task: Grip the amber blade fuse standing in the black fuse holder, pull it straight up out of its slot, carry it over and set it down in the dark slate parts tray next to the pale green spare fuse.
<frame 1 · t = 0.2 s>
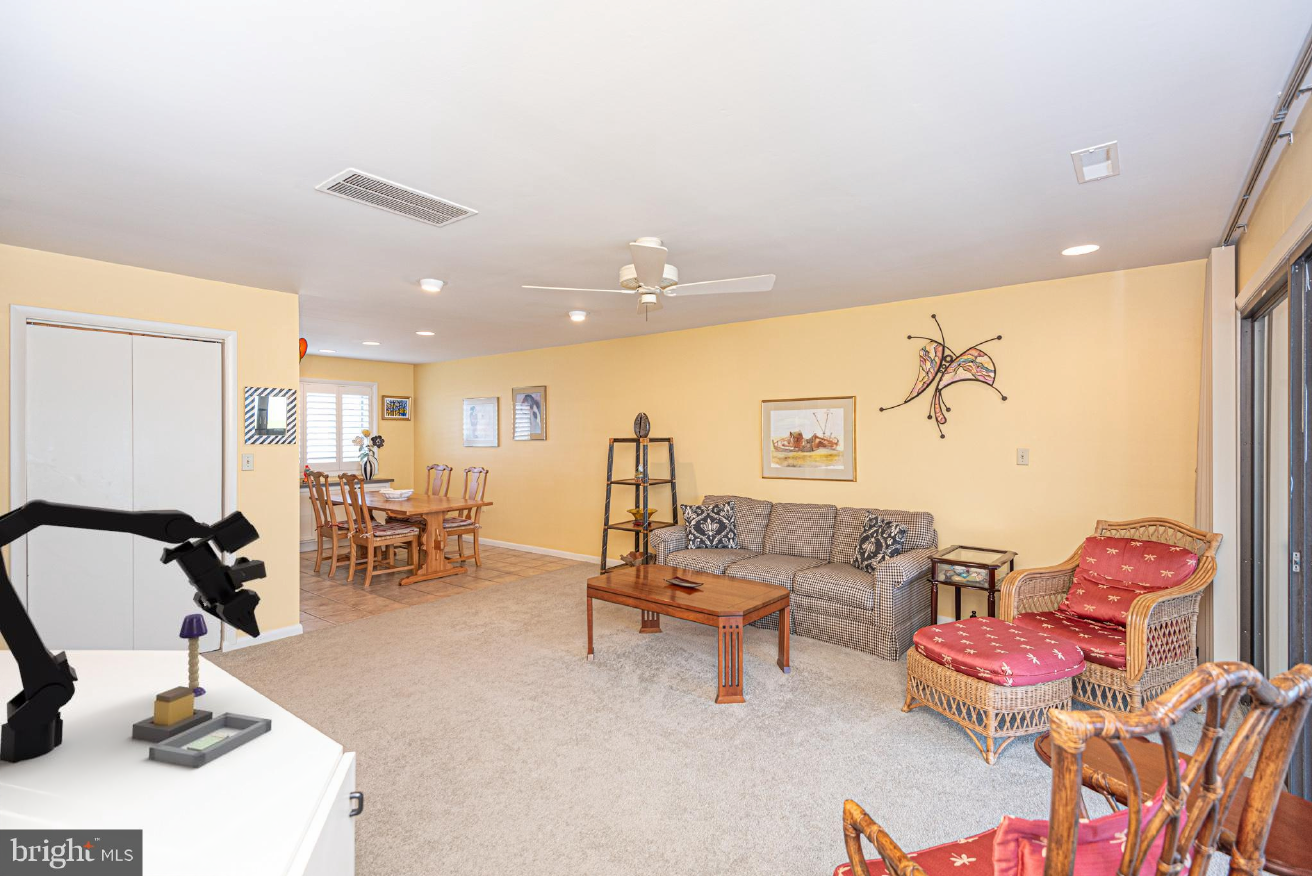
hand: (249, 632, 125), 14 cm above the table, tool tilted 30°, fingers open, 9 cm apart
parts tray: (213, 747, 107), on the table
spare fuse: (206, 754, 104), resting on parts tray
fuse holder: (173, 735, 111), on the table
blown fuse: (173, 731, 111), point 1 cm above the table, touching fuse holder
toy lamp: (191, 698, 127), on the table
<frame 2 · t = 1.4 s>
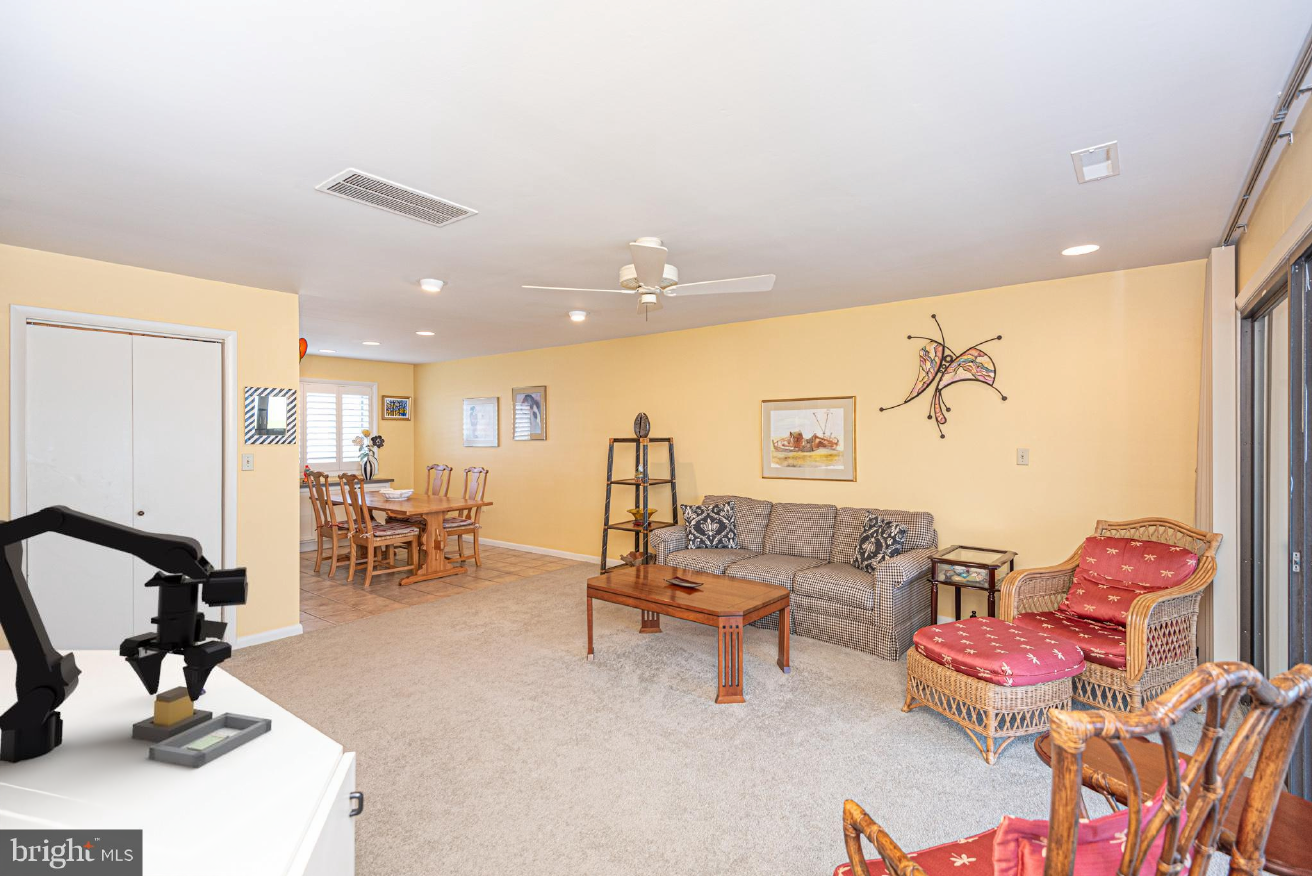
hand: (173, 697, 111), 7 cm above the table, tool pointing down, fingers open, 9 cm apart
nothing on the table moved.
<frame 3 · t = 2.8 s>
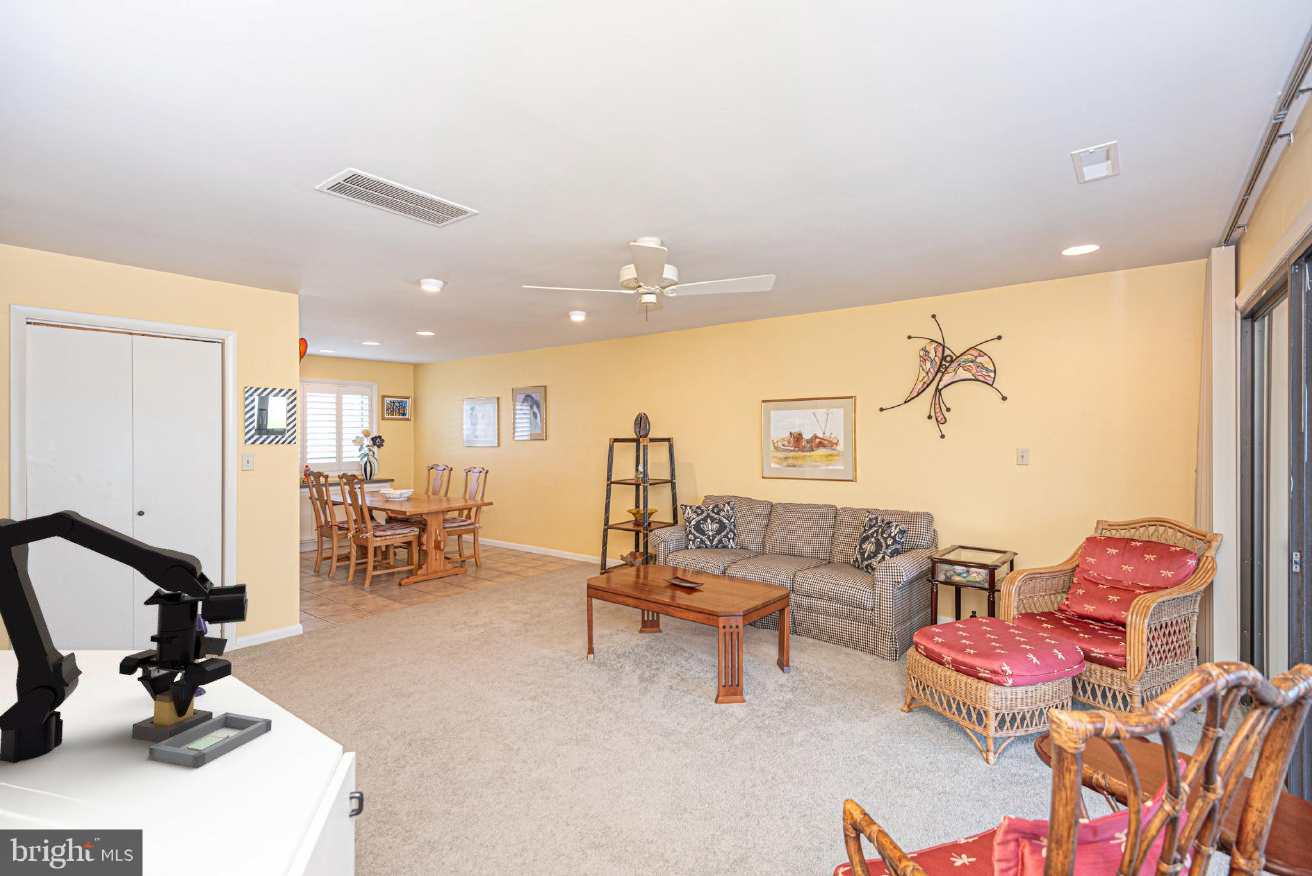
hand: (173, 715, 111), 4 cm above the table, tool pointing down, fingers closed on blown fuse, 3 cm apart
blown fuse: (173, 731, 111), point 1 cm above the table, touching fuse holder, gripper
everything else where it was.
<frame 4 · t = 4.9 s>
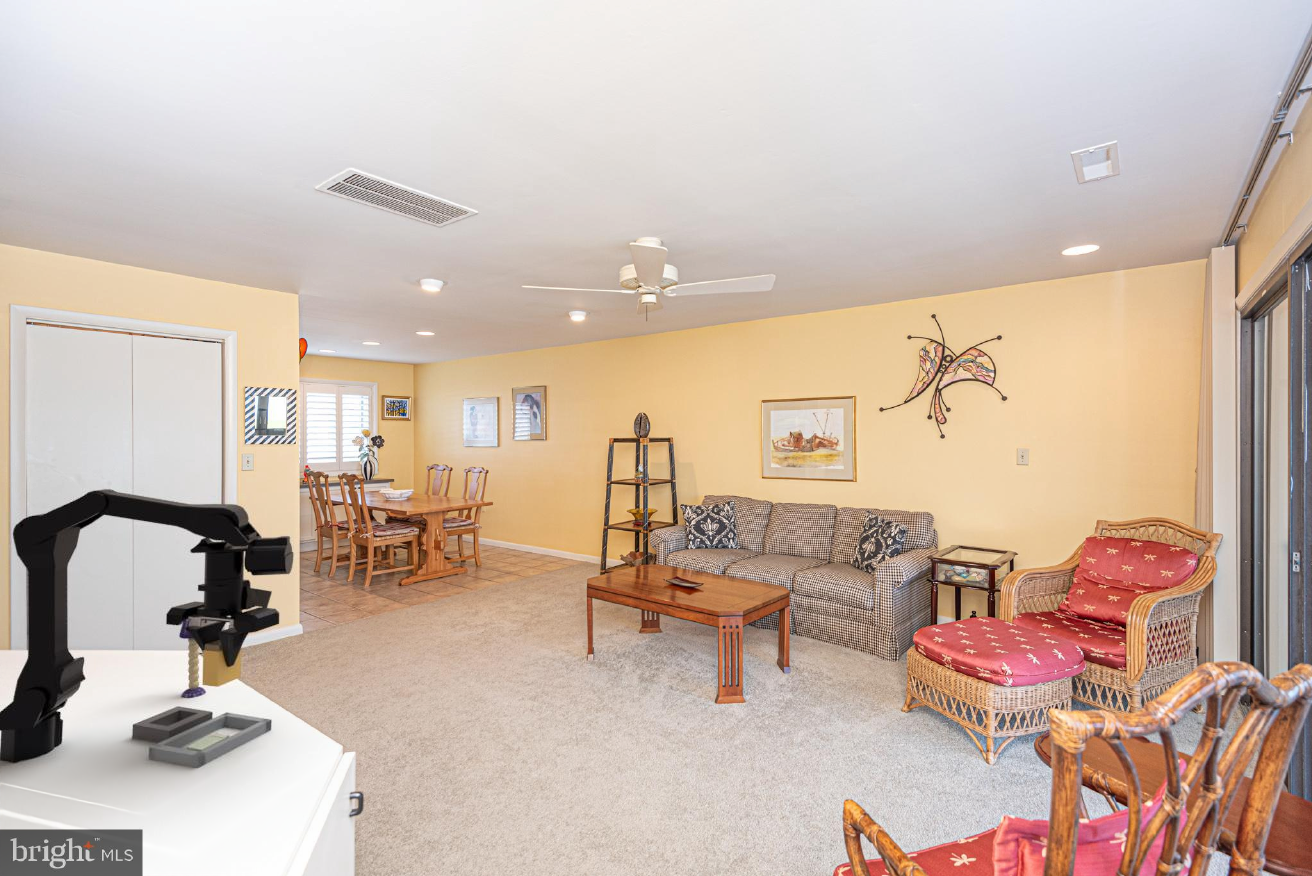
hand: (222, 665, 111), 13 cm above the table, tool pointing down, fingers closed on blown fuse, 3 cm apart
blown fuse: (221, 681, 111), point 10 cm above the table, touching gripper
everything else where it was.
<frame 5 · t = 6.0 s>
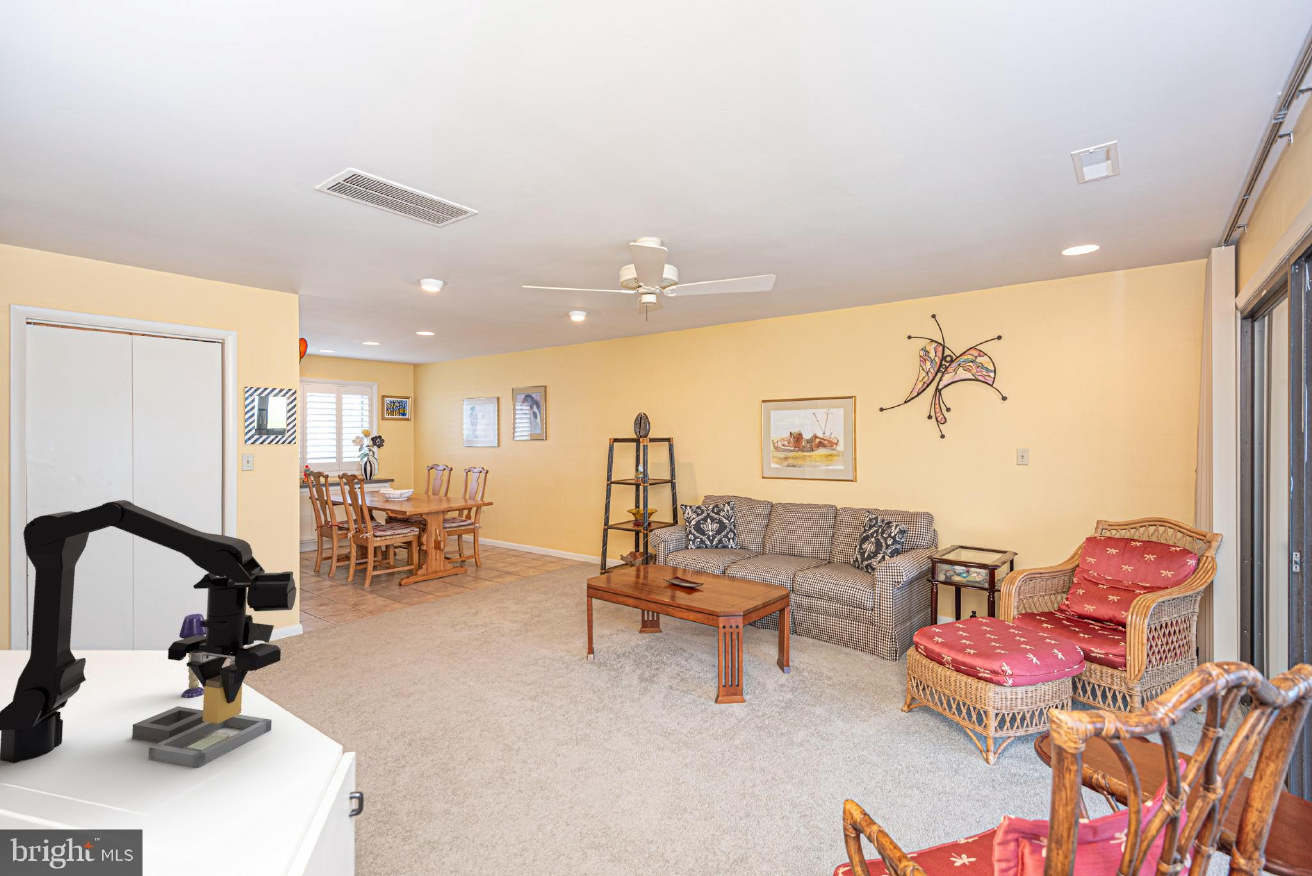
hand: (222, 701, 110), 7 cm above the table, tool pointing down, fingers closed on blown fuse, 3 cm apart
blown fuse: (222, 717, 110), point 4 cm above the table, touching gripper
everything else where it was.
when the fingers open (5 cm above the table, at t = 7.0 s): blown fuse drops 2 cm, resting on parts tray.
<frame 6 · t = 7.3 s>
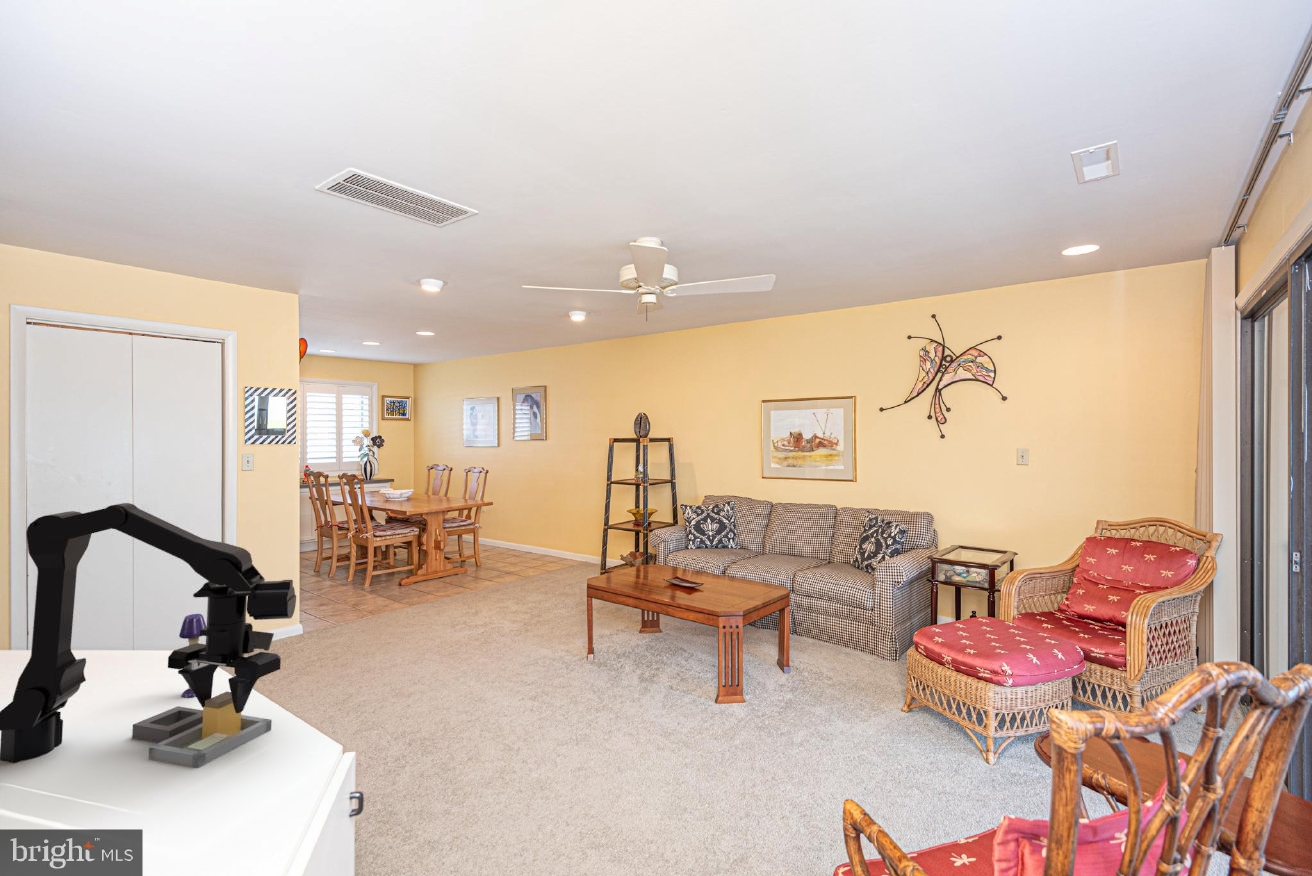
hand: (222, 709, 110), 5 cm above the table, tool pointing down, fingers open, 7 cm apart
blown fuse: (221, 737, 110), resting on parts tray
everything else where it was.
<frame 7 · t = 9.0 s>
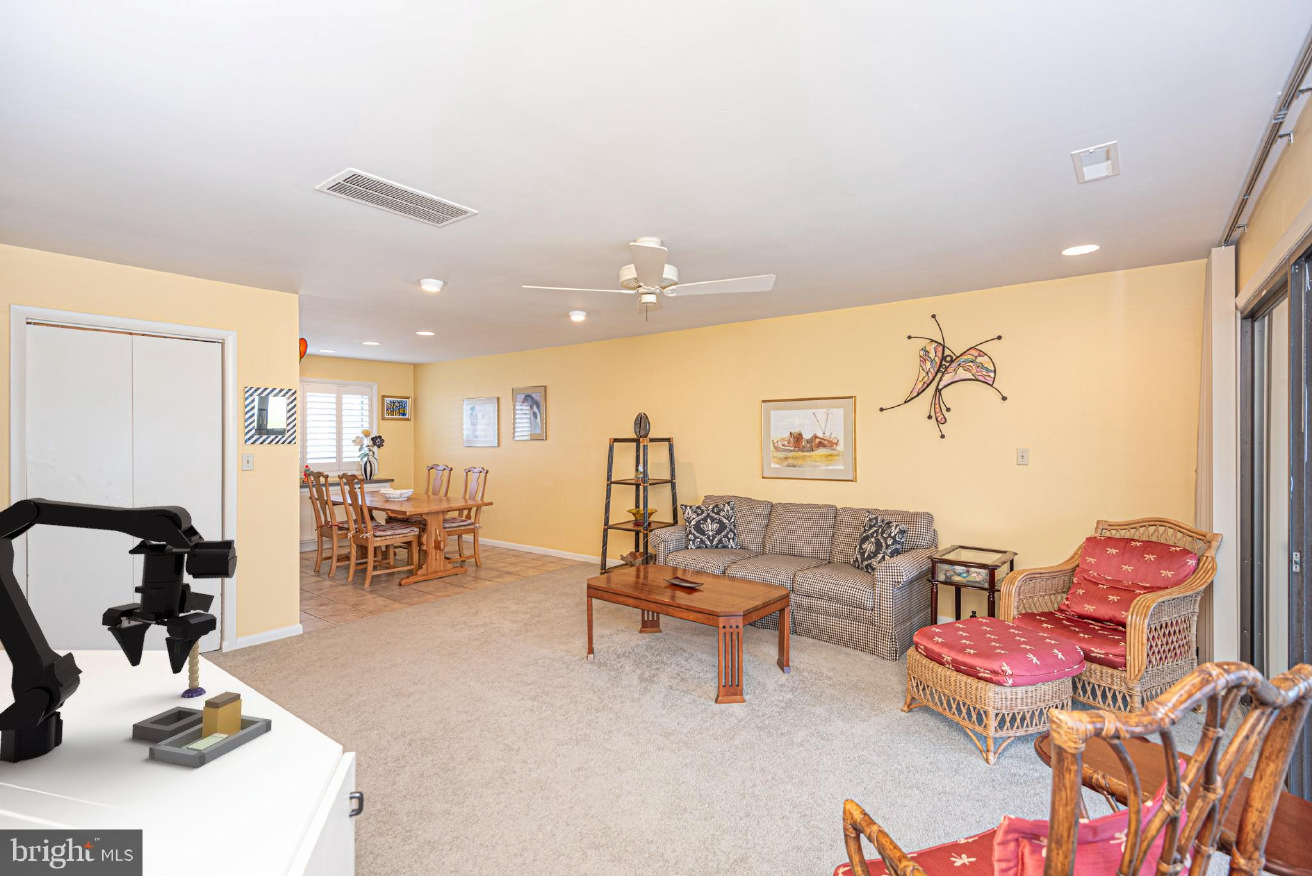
hand: (156, 669, 109), 13 cm above the table, tool pointing down, fingers open, 9 cm apart
nothing on the table moved.
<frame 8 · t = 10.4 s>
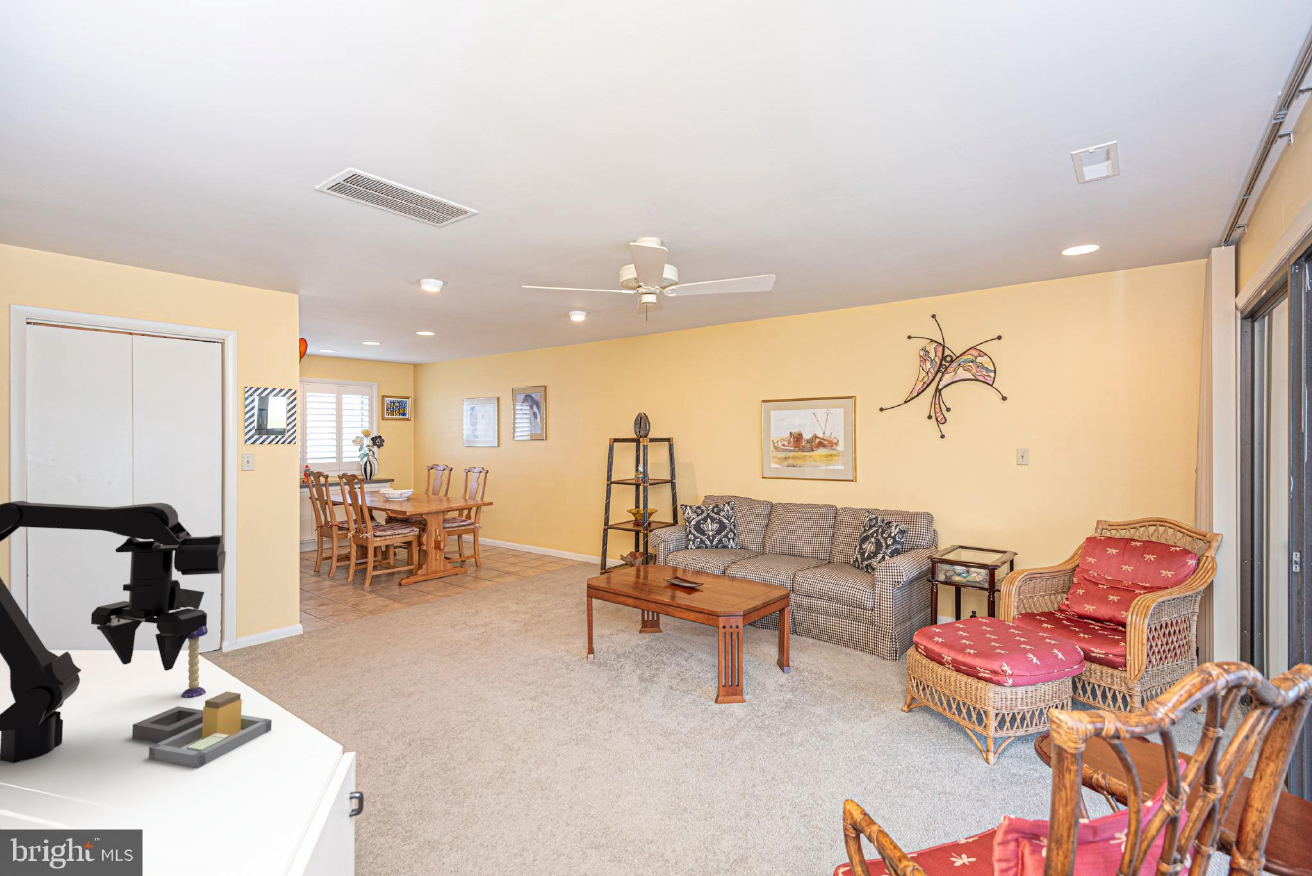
hand: (147, 666, 109), 13 cm above the table, tool pointing down, fingers open, 9 cm apart
nothing on the table moved.
at the end: blown fuse inside the target area on the parts tray (2.7 cm from its centre), point 0.5 cm above the parts tray's base; the gripper is holding nothing; blown fuse touching parts tray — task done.
